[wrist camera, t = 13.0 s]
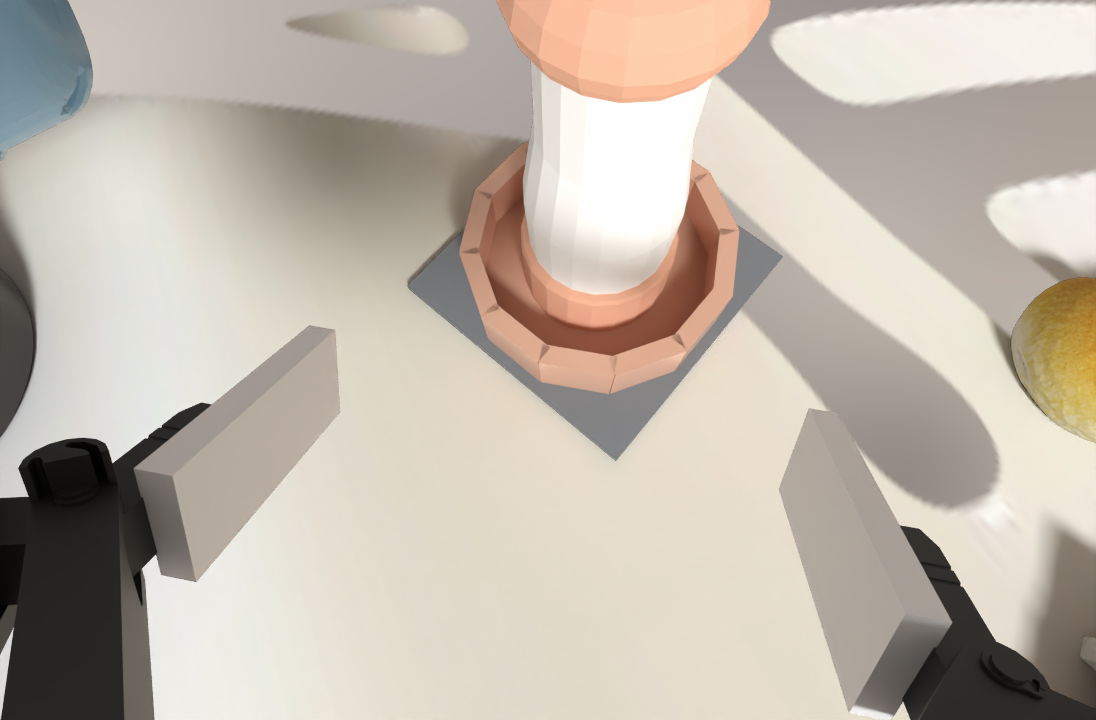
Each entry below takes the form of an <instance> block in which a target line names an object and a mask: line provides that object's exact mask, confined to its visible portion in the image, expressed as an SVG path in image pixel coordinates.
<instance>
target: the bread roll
mask: <svg viewBox="0 0 1096 720" xmlns="http://www.w3.org/2000/svg"><path fill="white" fill-rule="evenodd" d="M1011 351H1012V356H1013V361H1014V364H1015V367H1016V371H1017V374H1018V376H1019V378H1020V380H1021V382H1022V384H1023V385H1024V386H1025V388H1026V389H1027V391H1028V392H1029V394H1030V395H1031V397H1032V398H1033V399H1034V401H1035V402H1036V403H1037V404H1038V406H1039V407H1040V408H1041V409H1042V411H1043V412H1044V413H1045V414H1046V415H1047V416H1048V417H1049V418H1050V419H1051V420H1052V421H1053V422H1054V423H1056V424H1057V425H1058V426H1060V427H1062V428H1063V429H1065V430H1066V431H1068V432H1070V433H1072V434H1075V435H1077V436H1079V437H1081V438H1083V439H1085V440H1088V441H1091V442H1094V443H1096V278H1087V277H1080V278H1073V279H1069V280H1065V281H1062V282H1059V283H1057V284H1055V285H1053V286H1051V287H1050V288H1048V289H1046V290H1045V291H1044V292H1042V293H1041V294H1040V295H1039V296H1037V297H1036V298H1035V299H1034V300H1033V301H1032V302H1031V303H1030V304H1029V305H1028V307H1027V308H1026V310H1025V311H1024V312H1023V313H1022V315H1021V317H1020V318H1019V320H1018V321H1017V323H1016V325H1015V327H1014V329H1013V331H1012V336H1011Z"/></svg>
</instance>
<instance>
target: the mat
mask: <svg viewBox="0 0 1096 720" xmlns="http://www.w3.org/2000/svg"><path fill="white" fill-rule="evenodd" d="M737 226H738V225H737ZM738 228H739V240H738V250H737V259H736V269H735V279H734V289H733V296H732V298H731V299H730V301H729V302H728V304H727V305H726V307H725V308H724V310H723V311H722V313H721V314H720V316H719V317H718V319H717V320H716V321H715V323H714V324H713V325H712V326H711V328H710V329H709V330H708V331H707V332H706V334H705V335H704V336H703V337H702V339H701V340H700V341H699V342H698V343H697V345H696V346H695V347H694V348H693V349H692V351H691V352H690V353H689V354H688V355H687V357H686V358H685V359H684V360H683V362H682V363H681V364H680V365H679V366H678V368H677V369H676V370H675V371H674V372H671V373H668V374H665V375H663V376H660V377H657V378H654V379H651V380H648V381H645V382H643V383H640V384H637V385H634V386H631V387H628V388H625V389H623V390H620V391H617V392H614V393H611V394H610V393H609V394H606V393H600V392H594V391H588V390H583V389H577V388H571V387H566V386H560V385H554V384H549V383H543V382H541V381H538V380H537V379H536V378H535V377H533V376H532V375H531V374H530V373H529V372H527V371H526V370H525V369H524V368H523V367H521V366H520V365H519V364H518V363H516V362H515V361H514V360H513V359H512V358H510V357H509V356H508V355H507V354H506V353H504V352H503V351H502V350H501V349H499V348H498V347H497V346H496V345H495V344H493V343H492V342H491V341H490V340H489V339H488V336H487V333H486V330H485V328H484V325H483V322H482V319H481V316H480V313H479V310H478V307H477V304H476V301H475V298H474V295H473V293H472V290H471V287H470V284H469V281H468V278H467V275H466V272H465V269H464V266H463V263H462V260H461V257H460V254H459V250H460V246H461V242H462V238H463V234H464V230H465V229H464V230H463V231H462V232H461V233H460V234H459V235H458V236H457V237H456V238H455V239H454V240H453V241H452V242H451V243H450V244H449V245H448V246H447V247H446V248H445V249H444V250H443V251H442V252H441V253H440V254H439V255H438V256H437V257H436V258H435V259H434V260H433V261H432V262H431V263H430V264H429V265H428V266H427V267H426V268H425V269H424V270H423V271H422V272H421V273H420V274H419V275H418V276H417V277H416V278H415V279H414V280H413V281H412V282H411V283H410V284H409V285H408V288H409V289H410V290H411V291H412V292H413V293H414V294H416V295H417V296H418V297H419V298H420V299H422V300H423V301H424V302H425V303H426V304H428V305H429V306H430V307H431V308H432V309H434V310H435V311H436V312H437V313H438V314H440V315H441V316H442V317H443V318H444V319H446V320H447V321H448V322H449V323H450V324H452V325H453V326H454V327H455V328H457V329H458V330H459V331H460V332H461V333H463V334H464V335H465V336H466V337H467V338H469V339H470V340H471V341H472V342H473V343H475V344H476V345H477V346H478V347H479V348H481V349H482V350H483V351H484V352H485V353H487V354H488V355H489V356H490V357H491V358H493V359H494V360H495V361H496V362H497V363H499V364H500V365H501V366H502V367H503V368H505V369H506V370H507V371H508V372H509V373H511V374H512V375H513V376H514V377H515V378H517V379H518V380H519V381H520V382H521V383H523V384H524V385H525V386H526V387H527V388H529V389H530V390H531V391H532V392H533V393H535V394H536V395H537V396H538V397H540V398H541V399H542V400H543V401H544V402H546V403H547V404H548V405H549V406H550V407H552V408H553V409H554V410H555V411H556V412H558V413H559V414H560V415H561V416H562V417H564V418H565V419H566V420H567V421H568V422H570V423H571V424H572V425H573V426H574V427H576V428H577V429H578V430H579V431H580V432H582V433H583V434H584V435H585V436H586V437H588V438H589V439H590V440H591V441H592V442H594V443H595V444H596V445H597V446H598V447H600V448H601V449H602V450H603V451H604V452H606V453H607V454H608V455H609V456H610V457H612V458H613V459H614V460H615V461H616V460H617V459H618V458H619V456H620V455H621V454H622V453H623V452H624V450H625V449H626V448H627V447H628V445H629V444H630V443H631V442H632V441H633V439H634V438H635V437H636V436H637V434H638V433H639V432H640V431H641V430H642V428H643V427H644V426H645V425H646V423H647V422H648V421H649V420H650V419H651V417H652V416H653V415H654V414H655V412H656V411H657V410H658V409H659V408H660V406H661V405H662V404H663V403H664V402H665V400H666V399H667V398H668V397H669V395H670V394H671V393H672V392H673V391H674V389H675V388H676V387H677V386H678V384H679V383H680V382H681V381H682V380H683V378H684V377H685V376H686V375H687V373H688V372H689V371H690V370H691V369H692V367H693V366H694V365H695V364H696V362H697V361H698V360H699V359H700V358H701V356H702V355H703V354H704V353H705V351H706V350H707V349H708V348H709V347H710V345H711V344H712V343H713V342H714V340H715V339H716V338H717V337H718V336H719V334H720V333H721V332H722V331H723V329H724V328H725V327H726V326H727V325H728V323H729V322H730V321H731V320H732V318H733V317H734V316H735V315H736V314H737V312H738V311H739V310H740V309H741V307H742V306H743V305H744V304H745V303H746V301H747V300H748V299H749V298H750V296H751V295H752V294H753V293H754V292H755V290H756V289H757V288H758V287H759V285H760V284H761V283H762V282H763V280H764V279H765V278H766V277H767V276H768V274H769V273H770V272H771V271H772V270H773V268H774V267H775V266H776V265H777V263H778V262H779V261H780V260H781V258H782V257H783V256H782V255H780V254H779V253H777V252H776V251H774V250H773V249H772V248H770V247H769V246H767V245H766V244H764V243H763V242H761V241H760V240H758V239H757V238H756V237H754V236H753V235H751V234H750V233H748V232H747V231H745V230H744V229H743V228H741V227H740V226H738Z"/></svg>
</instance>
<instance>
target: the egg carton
mask: <svg viewBox="0 0 1096 720" xmlns="http://www.w3.org/2000/svg"><path fill="white" fill-rule="evenodd" d="M1080 657H1081V659H1082V660H1084V661H1085V662H1086V663H1087V664H1089V665H1090V666H1091V667H1092V668H1093V669H1094V670H1095V672H1096V637H1088V636H1084V637H1083V639H1082V646H1081V654H1080Z"/></svg>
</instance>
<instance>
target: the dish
mask: <svg viewBox="0 0 1096 720" xmlns="http://www.w3.org/2000/svg"><path fill="white" fill-rule="evenodd" d="M528 145H529V142H526V143H523V144H522V145H520V146H519V147H518V148H517V149H516V150H515V151H514V152H513V153H512V154H511V155H510V156H509V157H508V158H507V159H506V160H505V161H504V162H503V163H502V164H501V165H500V166H499V167H497V168H496V169H495V170H494V171H493V172H492V173H491V174H490V175H489V176H488V177H487V178H486V179H485V180H484V181H483V182H482V183H481V184H480V185H479V186H478V187H477V188H476V189H475V191H474V195H473V199H472V203H471V207H470V211H469V215H468V218H467V222H466V226H465V230H464V234H463V238H462V242H461V246H460V250H459V254H460V257H461V260H462V263H463V266H464V269H465V272H466V275H467V278H468V281H469V284H470V287H471V290H472V293H473V295H474V298H475V301H476V304H477V307H478V310H479V313H480V316H481V319H482V322H483V325H484V328H485V330H486V333H487V336H488V339H489V340H490V341H491V342H492V343H493V344H495V345H496V346H497V347H498V348H499V349H501V350H502V351H503V352H504V353H506V354H507V355H508V356H509V357H510V358H512V359H513V360H514V361H515V362H516V363H518V364H519V365H520V366H521V367H523V368H524V369H525V370H526V371H527V372H529V373H530V374H531V375H532V376H533V377H535V378H536V379H537V380H538V381H541V382H543V383H549V384H554V385H560V386H566V387H571V388H577V389H583V390H588V391H594V392H600V393H606V394H609V393H610V394H611V393H614V392H617V391H620V390H623V389H625V388H628V387H631V386H634V385H637V384H640V383H643V382H645V381H648V380H651V379H654V378H657V377H660V376H663V375H665V374H668V373H671V372H674V371H675V370H676V369H677V368H678V366H679V365H680V364H681V363H682V362H683V360H684V359H685V358H686V357H687V355H688V354H689V353H690V352H691V351H692V349H693V348H694V347H695V346H696V345H697V343H698V342H699V341H700V340H701V339H702V337H703V336H704V335H705V334H706V332H707V331H708V330H709V329H710V328H711V326H712V325H713V324H714V323H715V321H716V320H717V319H718V317H719V316H720V314H721V313H722V311H723V310H724V308H725V307H726V305H727V304H728V302H729V301H730V299H731V298H732V296H733V289H734V279H735V269H736V259H737V250H738V240H739V228H738V226H737V224H736V223H735V221H734V218H733V217H732V215H731V213H730V211H729V209H728V207H727V205H726V203H725V201H724V199H723V197H722V195H721V193H720V191H719V189H718V187H717V185H716V183H715V181H714V179H713V177H712V175H711V173H710V172H709V171H708V170H707V169H705V168H704V167H702V166H701V165H699V164H698V163H696V162H695V161H693V160H692V161H691V172H690V183H689V194H688V198H687V203H686V207H685V212H684V216H683V218H682V221H681V223H680V225H679V227H678V237H679V241H678V246H677V250H676V255H675V259H674V263H673V265H672V268H671V270H670V273H669V275H668V278H667V280H666V283H665V285H664V288H663V290H662V292H661V294H660V295H659V297H658V298H657V300H656V301H655V303H654V305H653V306H652V308H651V309H650V310H649V311H647V312H646V313H645V314H644V315H642V316H641V317H640V318H639V319H637V320H636V321H635V322H633V323H631V324H628V325H625V326H623V327H620V328H617V329H615V330H610V331H592V332H589V331H584V330H580V329H576V328H572V327H568V326H566V325H564V324H562V323H561V322H559V321H557V320H556V319H554V318H552V317H550V316H549V315H547V314H546V312H545V311H544V310H543V309H542V308H541V307H540V306H539V304H538V303H537V302H536V301H535V300H534V299H533V297H532V294H531V292H530V289H529V287H528V285H527V282H526V280H525V272H524V264H523V256H522V247H521V223H522V220H523V217H524V214H525V208H524V197H523V176H524V170H525V164H526V157H527V151H528Z"/></svg>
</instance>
